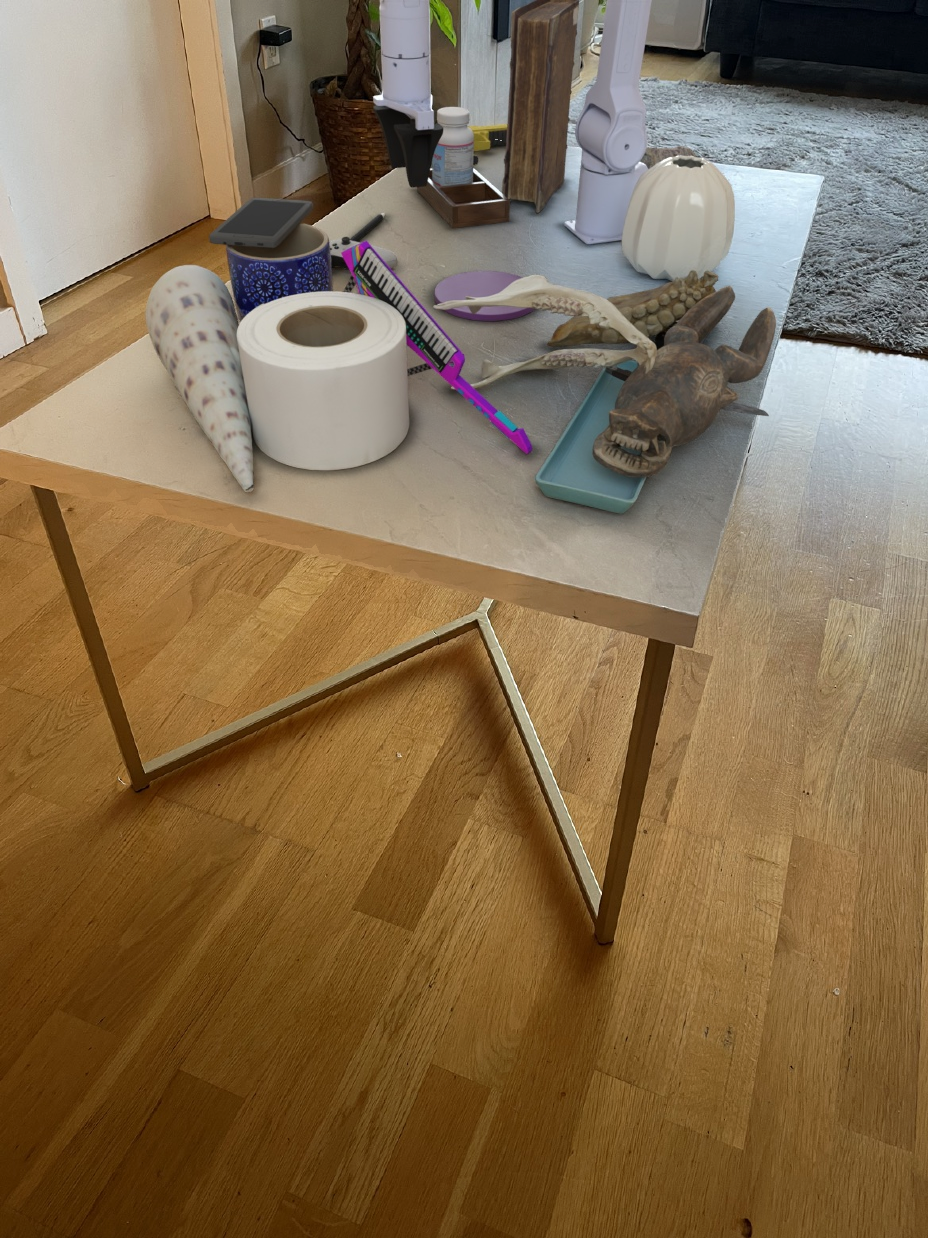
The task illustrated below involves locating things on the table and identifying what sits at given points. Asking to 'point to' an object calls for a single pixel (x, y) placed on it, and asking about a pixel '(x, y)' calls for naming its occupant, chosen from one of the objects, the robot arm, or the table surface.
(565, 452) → the teal serving tray
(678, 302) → the jawbone
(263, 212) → the cell phone
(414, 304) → the toy
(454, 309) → the lid
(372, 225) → the pen
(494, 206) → the wooden tray
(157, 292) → the seashell
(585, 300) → the jawbone
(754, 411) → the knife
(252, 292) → the planter
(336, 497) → the table surface
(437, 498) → the table surface
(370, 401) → the tape roll
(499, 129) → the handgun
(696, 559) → the table surface
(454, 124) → the pill bottle
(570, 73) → the book
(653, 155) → the rock
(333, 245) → the game controller
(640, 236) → the vase
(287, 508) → the table surface
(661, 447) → the sculpture
